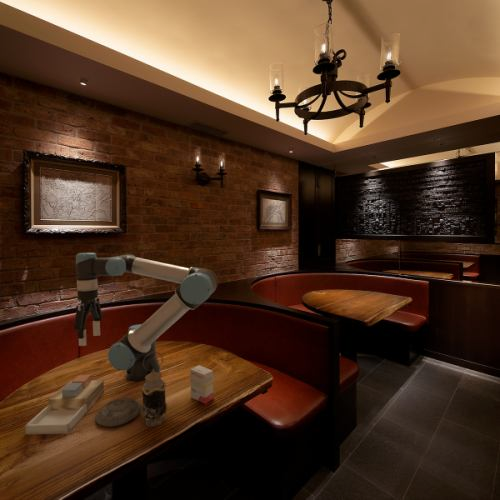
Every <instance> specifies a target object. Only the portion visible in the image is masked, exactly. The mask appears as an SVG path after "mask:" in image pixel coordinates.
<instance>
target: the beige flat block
mask: <svg viewBox="0 0 500 500" xmlns="http://www.w3.org/2000/svg"><path fill="white" fill-rule="evenodd" d="M72 381H73V380H69V381H68V382H67V383H66V384H64V385H63V386H62V387H61V388H59V390H57V392H55V393H54V394H53V395H52V396H51V397H49V398H48V405H51V410H79V409H80V408H81V407H82V406H83V405H84V404H87V412H88V411H89V410H90V409H91V408H92V407H93V405H94V404H95V403H96V402H97V401H98V400H99V399H100V397H101V396H102V395H103V394H104V393H105V382H104V380H91V383H90V384H89V385H88V386H87V387H86V388H85V389H83V391H82V392H81V393H80V394H79V395H78V396H77V397H72V398H62V389H64V388H65V387H66V386H67V385H68V384H69V383H72Z"/></svg>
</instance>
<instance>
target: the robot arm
mask: <svg viewBox="0 0 500 500" xmlns="http://www.w3.org/2000/svg"><path fill="white" fill-rule="evenodd" d="M75 269H76V287H77V288H76V289H77V292H76V293H77V300H79V301H80V305H79V304H78V305H76V306H75V311H76V312H75V320H74V328H73V330H74V332H75V331H77V334H78V335H77V336H78V337H77V338H78V346H79V347H85V346H87V329H86V326H87V321H88V316H89V315H91V317H92V319H93V321H92V334H93V335H92V336H93V337H94V336H95V337H98V336H101V321H103V312H102V308H101V304H100V298H99V289H97V288H98V287H99V286H98V277H99V276H108V277H109V276H111V277H115V276H116V277H117V276H123V275H124V273H129V274H134V275H140V276H144V277H150V278H153V279H158V280H161V281H163V280H164V281H167V282H173V283H177V284H179V285H178V286H177V287H175V290H174V294H173V295H172V296H171V297H170V298H169V299H168V300H167V301H166V302H165V303H164V304H162V305H161V306H160V307H159V308H158V309H157V310H156V311H155V312H154V313H153V314H152V315H151V316H150V317H148V319H146V320H145V321H144V322H143V323H140V324H134V325H131V326H128V330H127V333H125V335H123V337H121V338H120V339H119V340H118V341H117V342H115V343H112V345H111V346H110V347H109V349H108V351H107V360H108V362H109V364H110V365H111V366H112V367H113V368H114V369H116V370H118V371H125V377H126V379H127V380H128V381H133V382H143V381H146V379H145V377H146V376H147V375H148V374H150V373H151V372H152V371H148V370H153V369H154V371H155V372H157V373H160V372H161V366H160V365H161V364H160V362H159V360H158V357H157V353H151V352H157V350H156V344H157V343H156V341H157V339H158V338H159V337H160V336H162V334H164V333H165V332H166V331H167V330H168V329H169V328H170V327H172V326H173V325H174V324H175V323H176V322H177V321H178V320H179V319H181V318H182V317H183V316H184V315H185V314H186V313H187V312H188V311H189V310H192V311H193V310H196V309H197V308H198V307H199V306H201V305H202V303H204V302H206V301H207V300H208V299H209V298H210V296H211V295H212V294H213V293H214V292H215V291H216V289H217V288H218V284H219V281H218V277H217V275H216V273H214V271H213V270H210V269H209V268H202V267H195V266H191V267H185V266H181V265H180V266H179V265H176V264H171V263H165V262H160V261H155V260H150V259H147V258H142V257H136V256H135V255H133V254H128V253H127V254H123V255H117V256H111V257H97V253H96V252H80V253H77V254H76V255H75ZM149 353H150V354H149ZM147 354H149V355H147ZM146 355H147V356H146ZM145 356H146V358H145ZM144 358H145V359H144ZM143 360H144V367H145V368H146V369H147V370H146V369H145V368H144V367H143ZM159 366H160V367H159ZM158 367H159V368H158ZM157 368H158V369H157ZM155 369H157V370H155Z"/></svg>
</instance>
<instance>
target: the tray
mask: <svg viewBox="0 0 500 500" xmlns="http://www.w3.org/2000/svg"><path fill="white" fill-rule="evenodd" d="M87 412H88V411H87V404H84V405H83V406H82V407H81V408H80V409H79V410H51V405H49V404H48V405H47V406H45V407H44V408H43V409H42V410H41V411H40V412H38V414H36V415H35V416H34V417H33V418H32V419H30V420H29V421H28V422H27V423H26V424H25V425H24V432H25V435H52V434H53V435H55V434H56V435H58V434H59V435H61V434H63V435H65V434H69V433H70V432H71V431H72V430H73V428H74V427H75V426H76V425H77V424H78V423H79V421H80V420H81V419H82V418H83V417H84V416H85V415H86V413H87Z"/></svg>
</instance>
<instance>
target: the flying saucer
mask: <svg viewBox="0 0 500 500" xmlns="http://www.w3.org/2000/svg"><path fill="white" fill-rule="evenodd" d="M141 409H142V405H141V404H140V403H139V401H137V400H136V399H134V398H129V397H122V398H116V399H112V400H111V401H109V402H107V403H106V404H105V405H103V406H102V407H101V408H100V409H99V411H98V412H97V414H96V415H95V421H96V423H97V424H98V425H100V426H102V427H108V428H109V427H116V426H122V425H123V424H126V423H128V422H130V421H132V420H134V419H135V418H137V416H138V415H139V414H140V413H141V412H140V411H141Z"/></svg>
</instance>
